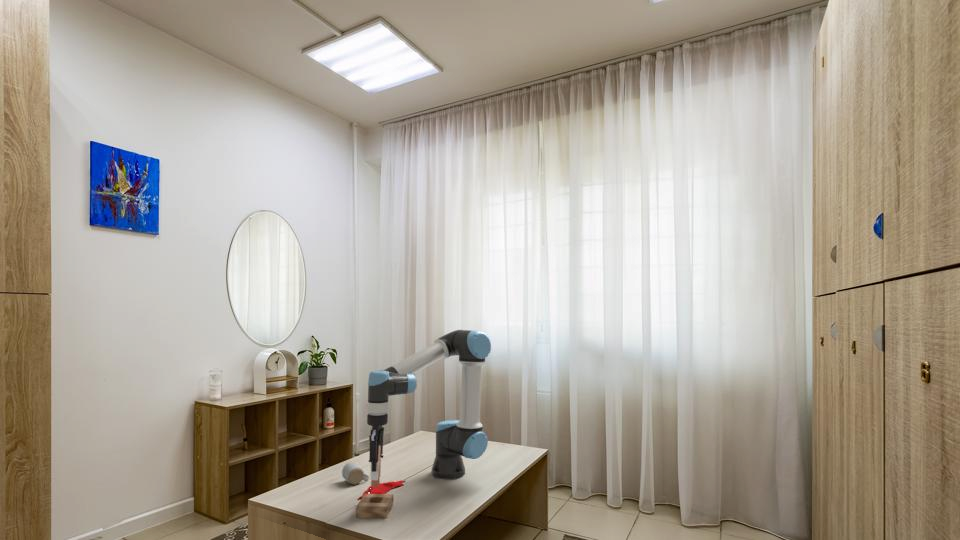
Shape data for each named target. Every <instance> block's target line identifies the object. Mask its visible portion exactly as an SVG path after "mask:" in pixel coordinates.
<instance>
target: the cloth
mask: <svg viewBox="0 0 960 540" xmlns="http://www.w3.org/2000/svg"><path fill="white" fill-rule="evenodd" d="M404 481H405V480H398V481H388V482H387V481H386V482H381V483H379V486H376V487H373V486H371V485H370V486H368V487H367V489H366V490H364V492H363V493H362V495H361V496H359V497H358V498H357V501H360V500H361V499H362V497H363V496H364V494H368V492H370V494H388V493H389V492H390V491H391V490H392V489H394V488H398V486H399V487H401V486H404V485H403V484H404V483H405V482H404ZM402 482H404V483H403V484H402ZM370 488H371V489H370ZM387 492H388V493H387Z"/></svg>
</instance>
